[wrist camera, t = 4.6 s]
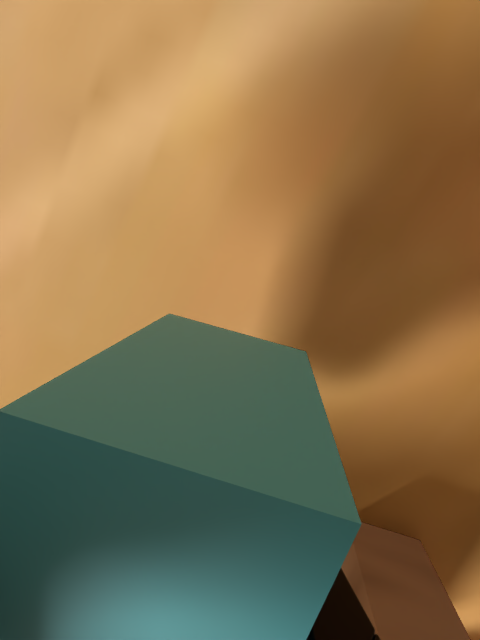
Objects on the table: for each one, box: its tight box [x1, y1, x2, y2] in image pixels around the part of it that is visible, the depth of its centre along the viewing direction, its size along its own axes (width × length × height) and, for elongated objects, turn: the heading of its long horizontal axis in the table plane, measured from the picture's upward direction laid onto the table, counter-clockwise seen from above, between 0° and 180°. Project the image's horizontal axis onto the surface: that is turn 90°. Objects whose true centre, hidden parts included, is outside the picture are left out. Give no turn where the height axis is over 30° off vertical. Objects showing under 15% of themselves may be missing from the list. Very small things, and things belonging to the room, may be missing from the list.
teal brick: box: [0, 314, 362, 640], centre depth 6 cm, size 7×4×5 cm, turn 166°
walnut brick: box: [341, 522, 470, 640], centre depth 13 cm, size 7×4×5 cm, turn 166°
